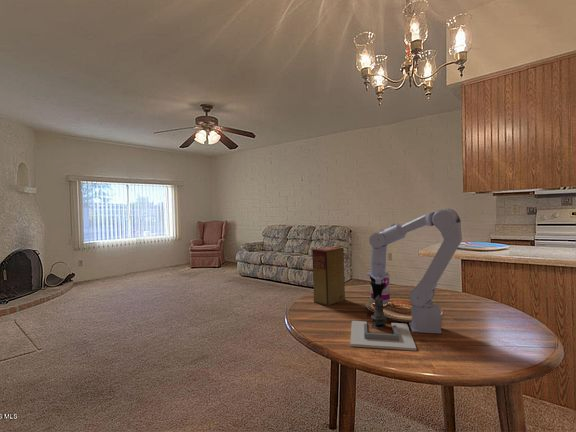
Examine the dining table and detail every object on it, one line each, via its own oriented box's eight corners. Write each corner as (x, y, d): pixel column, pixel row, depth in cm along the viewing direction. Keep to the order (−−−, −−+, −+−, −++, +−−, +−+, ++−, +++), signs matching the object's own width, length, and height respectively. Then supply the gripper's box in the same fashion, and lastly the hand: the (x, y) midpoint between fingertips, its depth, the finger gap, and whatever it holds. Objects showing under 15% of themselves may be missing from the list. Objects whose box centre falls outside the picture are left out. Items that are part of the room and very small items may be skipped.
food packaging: (330, 295, 156) (329, 245, 155) (346, 299, 149) (345, 247, 148) (312, 302, 147) (311, 249, 146) (328, 306, 140) (326, 250, 139)
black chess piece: (388, 329, 113) (387, 297, 112) (371, 329, 114) (370, 296, 114) (386, 323, 119) (386, 292, 118) (370, 323, 120) (369, 291, 119)
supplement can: (392, 307, 137) (391, 273, 136) (373, 307, 137) (372, 273, 137) (386, 301, 145) (386, 269, 145) (368, 301, 145) (368, 269, 145)
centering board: (406, 325, 116) (406, 319, 116) (416, 350, 96) (416, 342, 96) (351, 322, 120) (351, 316, 120) (350, 346, 101) (350, 338, 101)
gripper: (367, 258, 130) (365, 290, 132) (368, 266, 116) (366, 302, 117) (384, 259, 129) (383, 291, 130) (387, 268, 115) (386, 304, 116)
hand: (376, 296), depth 124 cm, fingers open, 7 cm apart
